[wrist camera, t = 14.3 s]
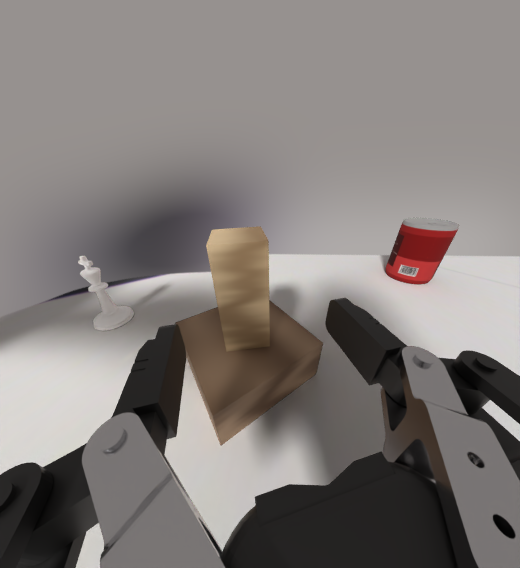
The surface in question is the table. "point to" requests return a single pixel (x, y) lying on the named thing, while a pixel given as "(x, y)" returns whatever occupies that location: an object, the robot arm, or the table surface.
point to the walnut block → (247, 368)
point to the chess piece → (104, 300)
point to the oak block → (241, 285)
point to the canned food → (420, 249)
